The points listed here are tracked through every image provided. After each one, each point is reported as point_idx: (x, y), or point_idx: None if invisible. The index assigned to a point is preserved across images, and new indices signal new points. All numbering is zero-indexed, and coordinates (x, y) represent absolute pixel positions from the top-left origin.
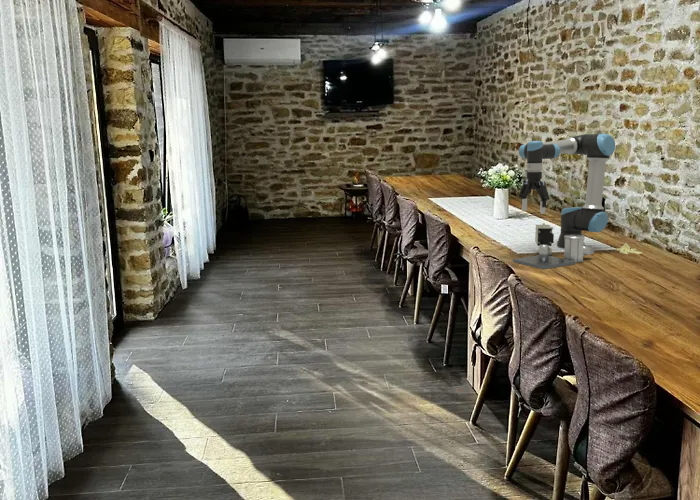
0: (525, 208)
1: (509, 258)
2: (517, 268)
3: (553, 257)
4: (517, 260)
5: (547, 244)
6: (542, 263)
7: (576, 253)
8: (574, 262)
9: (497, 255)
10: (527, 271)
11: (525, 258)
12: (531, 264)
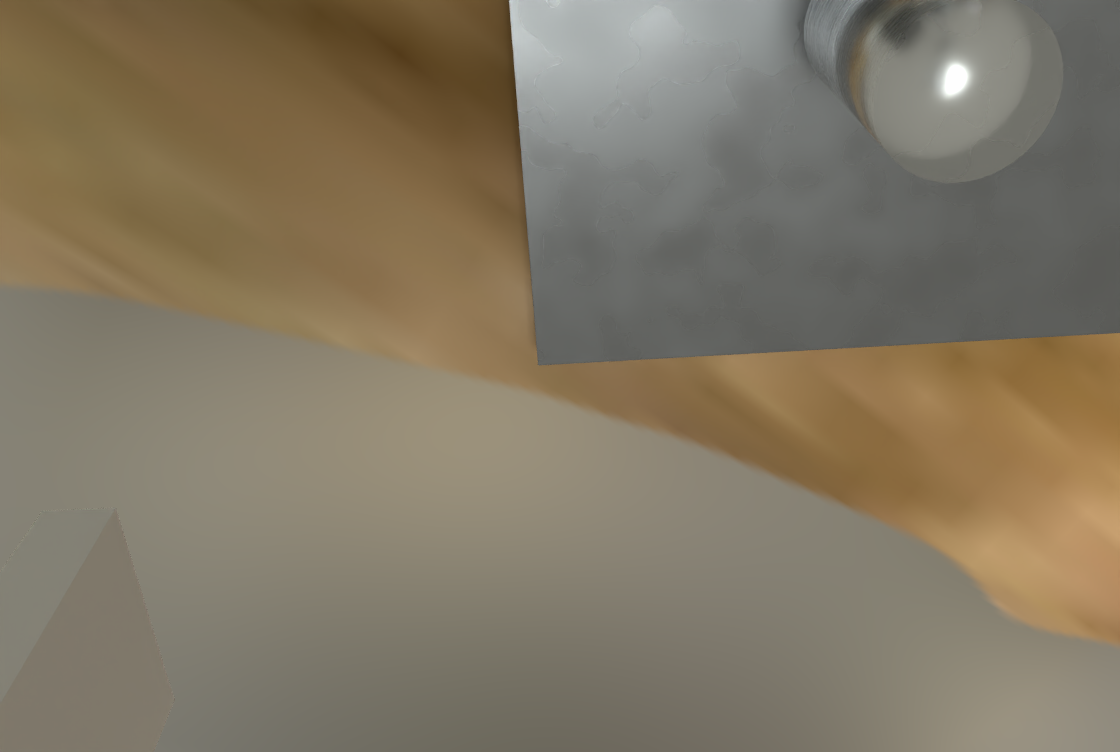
0: (88, 676)
1: (308, 239)
2: (890, 517)
3: None
4: (643, 356)
5: None
6: (1038, 210)
7: None
8: None
9: (22, 252)
10: (1082, 519)
11: (606, 186)
12: (935, 337)
